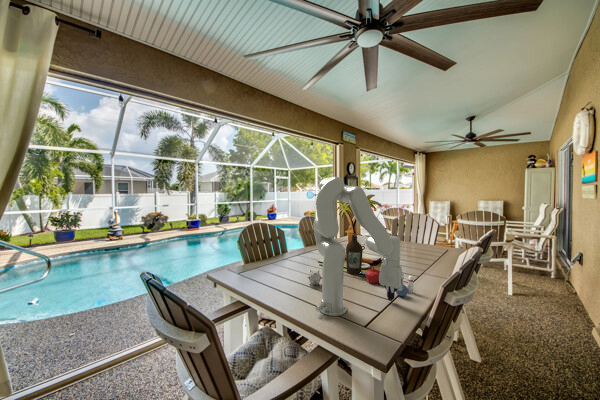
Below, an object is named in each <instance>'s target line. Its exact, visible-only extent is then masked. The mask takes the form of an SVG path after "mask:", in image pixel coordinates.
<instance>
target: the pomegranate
mask: <svg viewBox="0 0 600 400" xmlns="http://www.w3.org/2000/svg"><path fill="white" fill-rule="evenodd" d="M379 274H380V268H379V269H378V268H375V266H374V265H373V266H372V267H371V268H370V269H368V270H366V272H365V278H366V281H367V283H369V284H380V282H379Z"/></svg>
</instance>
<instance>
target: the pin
mask: <svg viewBox="0 0 600 400" xmlns="http://www.w3.org/2000/svg"><path fill="white" fill-rule="evenodd" d="M407 277H408V279H407V281H408V283H407V284H408V294H413V293H414V276H413V275H408V276H407Z"/></svg>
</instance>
